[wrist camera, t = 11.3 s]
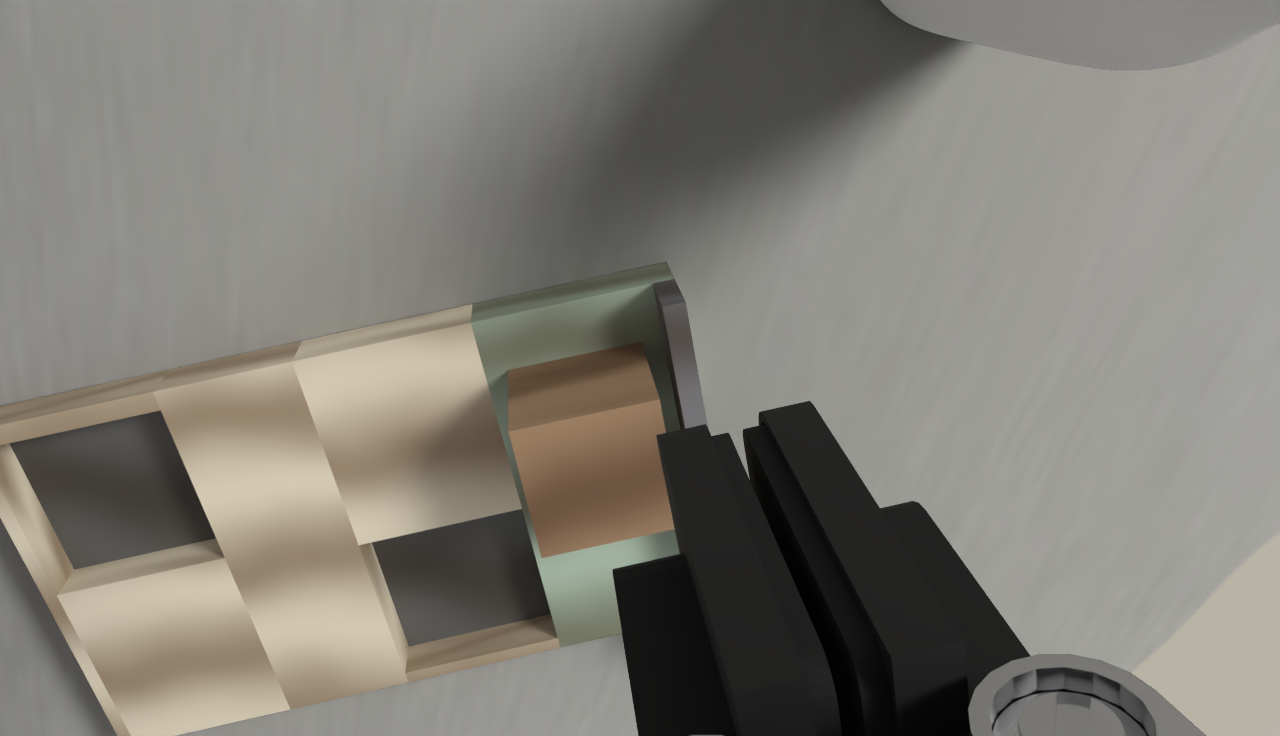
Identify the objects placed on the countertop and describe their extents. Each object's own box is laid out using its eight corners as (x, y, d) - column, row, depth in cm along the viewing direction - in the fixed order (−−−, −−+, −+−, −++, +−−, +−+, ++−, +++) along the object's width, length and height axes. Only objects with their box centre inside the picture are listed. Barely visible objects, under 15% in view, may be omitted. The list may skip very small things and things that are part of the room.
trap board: (-18, 409, 37) (-83, 469, 33) (666, 262, 38) (685, 301, 34) (139, 713, 43) (101, 794, 39) (724, 579, 44) (746, 646, 40)
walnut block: (508, 369, 37) (508, 431, 32) (641, 342, 37) (659, 399, 32) (537, 485, 39) (541, 558, 34) (663, 457, 39) (683, 527, 35)
